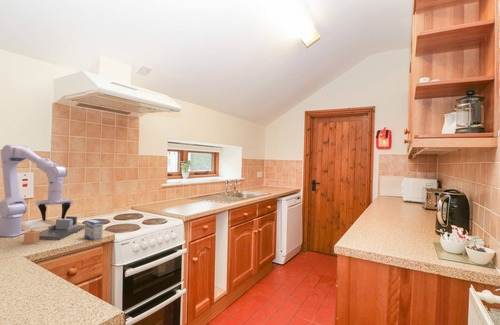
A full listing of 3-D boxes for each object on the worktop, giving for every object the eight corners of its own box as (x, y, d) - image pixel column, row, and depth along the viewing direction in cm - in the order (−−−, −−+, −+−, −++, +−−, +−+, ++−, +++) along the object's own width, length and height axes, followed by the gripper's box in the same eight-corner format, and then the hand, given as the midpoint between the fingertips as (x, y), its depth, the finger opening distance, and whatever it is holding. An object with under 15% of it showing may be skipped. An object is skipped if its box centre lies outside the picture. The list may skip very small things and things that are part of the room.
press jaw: (55, 228, 145) (56, 219, 145) (65, 225, 154) (65, 216, 154) (69, 229, 146) (69, 220, 146) (78, 225, 154) (78, 216, 154)
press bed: (28, 238, 131) (29, 231, 131) (60, 227, 156) (61, 220, 156) (59, 240, 132) (59, 232, 132) (86, 228, 157) (86, 222, 157)
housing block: (23, 243, 124) (24, 230, 124) (30, 241, 128) (30, 228, 128) (32, 244, 124) (33, 230, 124) (39, 241, 128) (39, 228, 128)
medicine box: (83, 237, 138) (85, 220, 138) (92, 235, 142) (93, 219, 142) (93, 240, 135) (94, 222, 135) (102, 238, 139) (103, 221, 139)
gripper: (39, 192, 124) (36, 222, 124) (75, 191, 135) (73, 219, 135) (35, 191, 129) (33, 220, 129) (70, 190, 140) (68, 216, 140)
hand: (53, 219), depth 132 cm, fingers open, 7 cm apart
